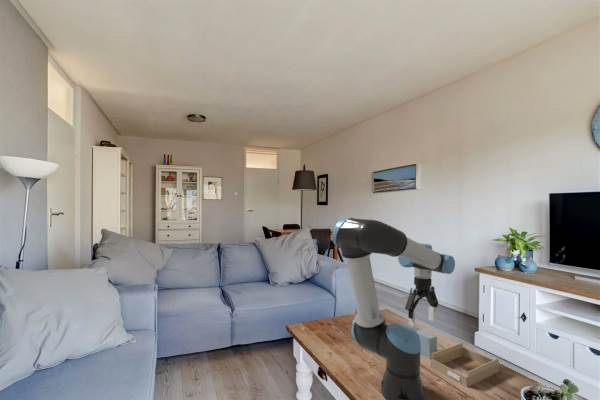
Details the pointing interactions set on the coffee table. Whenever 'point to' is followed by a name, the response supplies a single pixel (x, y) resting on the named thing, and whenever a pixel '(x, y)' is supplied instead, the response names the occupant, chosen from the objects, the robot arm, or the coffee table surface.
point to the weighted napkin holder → (427, 342)
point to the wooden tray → (473, 375)
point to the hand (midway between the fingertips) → (421, 322)
